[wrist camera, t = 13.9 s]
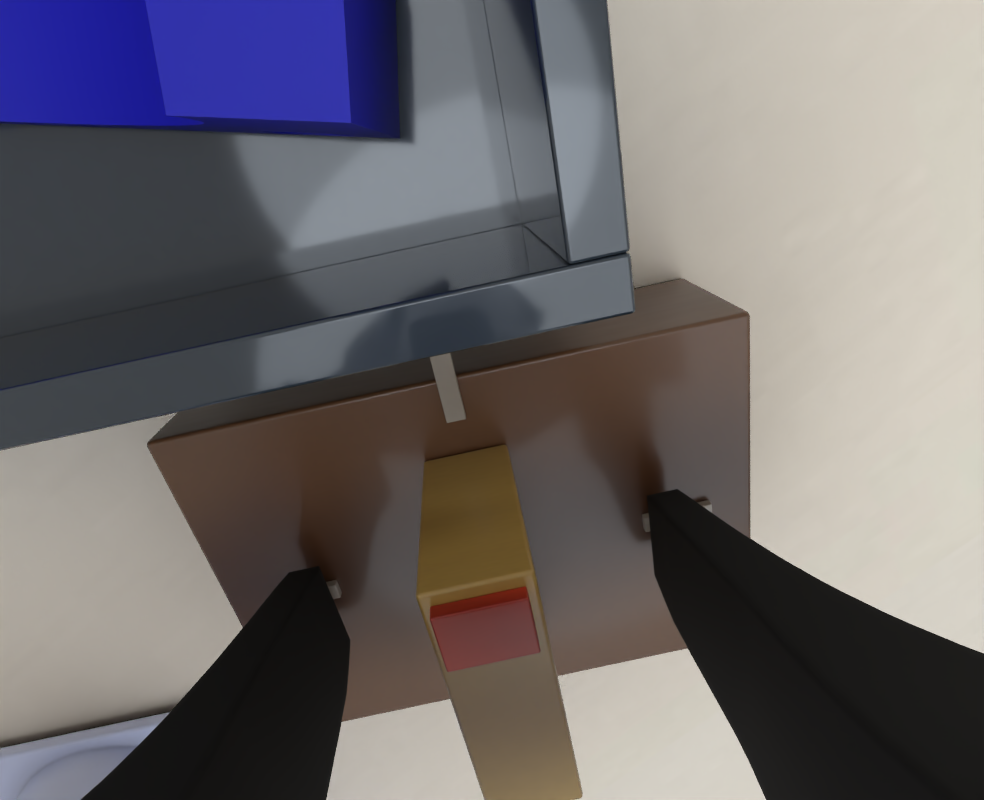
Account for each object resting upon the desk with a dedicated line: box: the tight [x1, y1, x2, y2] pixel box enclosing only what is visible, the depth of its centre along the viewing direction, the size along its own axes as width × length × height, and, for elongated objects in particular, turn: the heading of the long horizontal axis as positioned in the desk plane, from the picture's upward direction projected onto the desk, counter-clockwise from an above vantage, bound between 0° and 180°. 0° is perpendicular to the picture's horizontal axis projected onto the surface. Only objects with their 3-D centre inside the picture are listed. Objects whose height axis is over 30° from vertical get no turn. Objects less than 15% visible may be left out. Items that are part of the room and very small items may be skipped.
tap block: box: [147, 279, 750, 722], centre depth 13 cm, size 9×11×3 cm
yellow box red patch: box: [416, 445, 583, 800], centre depth 10 cm, size 5×2×4 cm, turn 11°
